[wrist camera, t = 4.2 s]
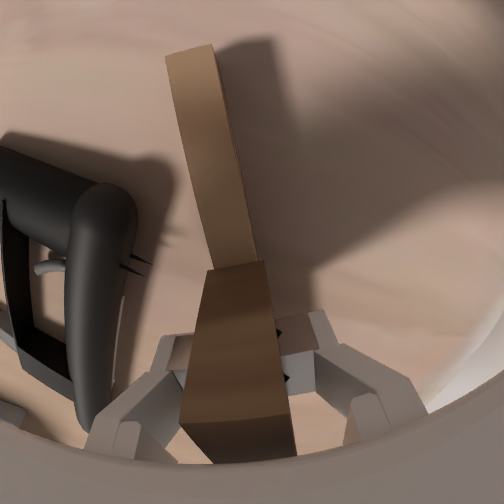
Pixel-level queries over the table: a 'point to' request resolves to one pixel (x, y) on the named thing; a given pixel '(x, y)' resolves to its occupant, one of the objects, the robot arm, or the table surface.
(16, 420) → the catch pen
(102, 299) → the black angular piece
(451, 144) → the table surface
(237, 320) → the walnut scraper
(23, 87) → the table surface
